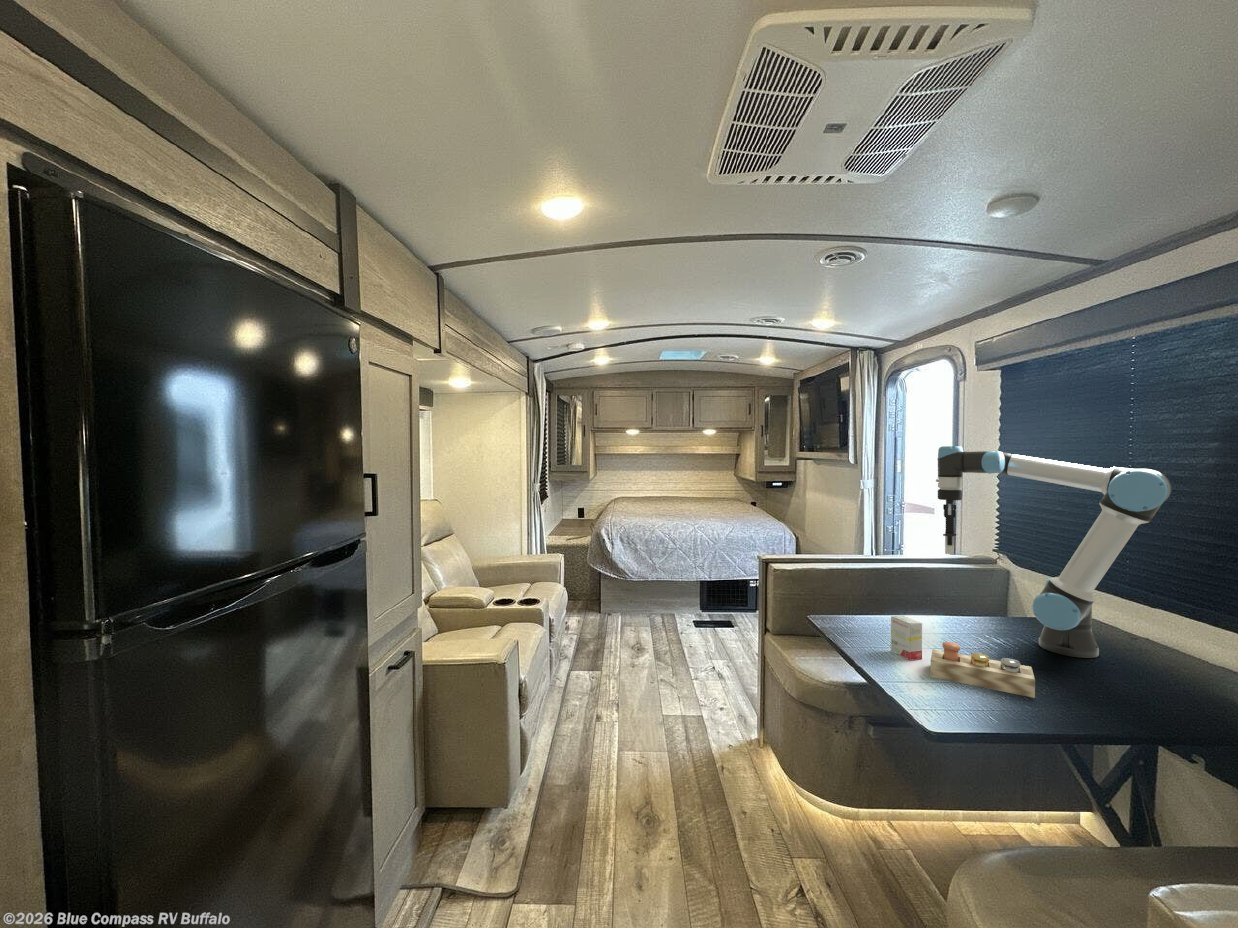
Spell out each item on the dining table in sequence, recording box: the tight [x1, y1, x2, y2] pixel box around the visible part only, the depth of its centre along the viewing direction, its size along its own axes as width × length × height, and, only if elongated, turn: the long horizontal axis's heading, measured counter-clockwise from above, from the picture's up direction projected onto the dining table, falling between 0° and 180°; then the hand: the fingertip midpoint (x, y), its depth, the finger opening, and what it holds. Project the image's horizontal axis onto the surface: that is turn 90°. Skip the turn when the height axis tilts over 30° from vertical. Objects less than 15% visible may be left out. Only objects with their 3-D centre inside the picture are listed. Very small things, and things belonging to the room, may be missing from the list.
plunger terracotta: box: [942, 641, 961, 662], centre depth 153 cm, size 4×4×6 cm
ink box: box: [890, 615, 923, 661], centre depth 168 cm, size 9×5×12 cm, turn 13°
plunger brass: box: [970, 652, 990, 667], centre depth 149 cm, size 4×4×6 cm
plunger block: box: [929, 649, 1036, 699], centre depth 149 cm, size 24×10×5 cm, turn 56°
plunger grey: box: [1000, 657, 1021, 673], centre depth 145 cm, size 4×4×6 cm
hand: (949, 553), depth 187 cm, fingers closed
